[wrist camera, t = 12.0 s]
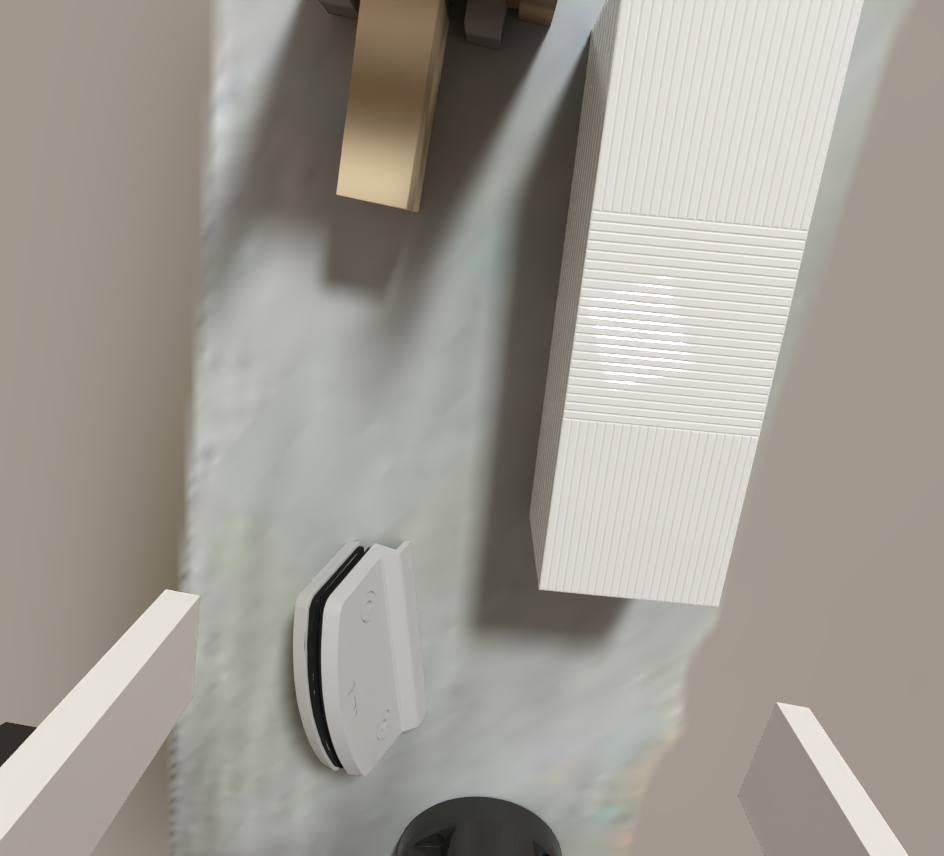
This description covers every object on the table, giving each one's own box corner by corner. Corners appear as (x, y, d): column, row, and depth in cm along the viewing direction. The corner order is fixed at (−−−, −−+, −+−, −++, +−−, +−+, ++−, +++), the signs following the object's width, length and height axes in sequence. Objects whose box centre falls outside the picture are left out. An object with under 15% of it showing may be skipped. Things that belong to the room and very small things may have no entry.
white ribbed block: (591, 31, 38) (627, -45, 28) (767, 47, 38) (869, -23, 27) (529, 512, 47) (538, 590, 37) (669, 526, 47) (718, 607, 37)
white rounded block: (428, 715, 53) (367, 815, 44) (379, 703, 55) (311, 796, 46) (410, 537, 48) (337, 609, 39) (357, 530, 50) (276, 597, 41)
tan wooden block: (418, 212, 41) (406, 209, 35) (358, 200, 41) (336, 194, 35) (452, 4, 37) (444, -38, 32) (386, -10, 37) (367, -55, 32)
